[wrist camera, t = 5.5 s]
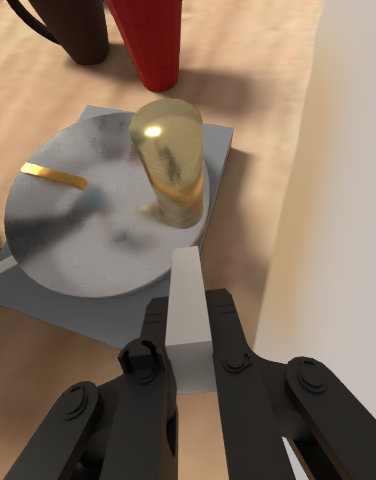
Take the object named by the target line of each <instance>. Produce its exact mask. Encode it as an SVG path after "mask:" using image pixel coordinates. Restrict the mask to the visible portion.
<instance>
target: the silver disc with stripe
mask: <svg viewBox="0 0 376 480" xmlns="http://www.w3.org/2000/svg"><path fill="white" fill-rule="evenodd" d="M208 209H209V177H208V171H207V167H206V164H205V161H204V159H203V128H202V117H201V114H200V113H199V111H198V110H197V108H196V107H194V106H193V105H192V104H190V103H188V102H186V101H184V100H180V99H174V98H167V99H160V100H156V101H153V102H151V103H149V104H147V105H145V106H144V107H142V108H141V109H140V110H139V111H138V112H137V113H113V114H106V115H101V116H97V117H93V118H89V119H86V120H84V121H81V122H78V123H76V124H74V125H72V126H70V127H68V128H66V129H64V130H62V131H61V132H59V133H57V134H56V135H55V136H53V137H52V138H50V139H49V140H48V141H46V142H45V143H44V144H43V145H42V146H41V147H39V148H38V149H37V150H36V151H35V153H34V154H33V155H32V156H31V157H30V158H29V159H28V160H27V162H26V163H25V164H24V166H23V167H22V169H21V170H20V172H19V173H18V175H17V177H16V179H15V181H14V183H13V185H12V187H11V190H10V193H9V195H8V199H7V203H6V208H5V219H4V224H5V234H6V239H7V243H8V246H9V248H10V251H11V253H12V255H13V257H14V259H15V260H16V262H17V263H18V265H19V266H20V267H21V268H22V270H23V271H24V272H25V273H26V274H27V275H28V276H29V277H31V278H32V279H33V280H35V281H36V282H37V283H39V284H41V285H43V286H45V287H46V288H48V289H50V290H53V291H56V292H59V293H62V294H67V295H73V296H79V297H87V298H103V299H108V298H117V297H123V296H127V295H131V294H135V293H138V292H140V291H143V290H145V289H147V288H150V287H151V286H153V285H155V284H157V283H159V282H160V281H162V280H163V279H165V278H166V277H168V276H169V275H170V274H171V269H172V257H173V249H177V248H185V247H192V246H196V245H197V243H198V241H199V239H200V237H201V235H202V233H203V230H204V228H205V224H206V221H207V216H208Z"/></svg>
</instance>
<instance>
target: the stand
mask: <svg viewBox="0 0 376 480" xmlns="http://www.w3.org/2000/svg"><path fill="white" fill-rule="evenodd" d="M113 113H134V112H128V111H121V110H115V109H109V108H102V107H96V106H89V105H87V107H86V108H85V110H84V112H83V113H82V115H81V117H80V118H79V120H78V122H81V121H84V120H86V119H89V118H93V117H97V116H101V115H106V114H113ZM78 122H77V123H78ZM202 128H203V159H204V161H205V164H206V167H207V171H208V177H209V209H208V216H207V221H206V224H205V228H204V230H203V233H202V235H201V237H200V239H199V241H198V243H197V245H196V246H198V251H199V257H200V254H201V250H202V246H203V243H204V239H205V236H206V232H207V229H208V225H209V222H210V218H211V215H212V211H213V208H214V204H215V201H216V197H217V194H218V190H219V187H220V183H221V180H222V176H223V173H224V169H225V166H226V162H227V159H228V155H229V152H230V148H231V143H232V136H233V130H234V128H230V127H224V126H217V125H211V124H204V123H202ZM170 281H171V274H170V275H169V276H168V277H166V278H165V279H163V280H162V281H160V282H159V283H157V284H155V285H153V286H151V287H150V288H147V289H145V290H143V291H140V292H138V293H135V294H131V295H127V296H123V297H117V298H108V299H103V298H87V297H79V296H73V295H67V294H62V293H59V292H56V291H53V290H50V289H48V288H46V287H45V286H43V285H41V284H39V283H37V282H36V281H35V280H33V279H32V278H31V277H29V276H28V275H27V274H26V273H25V272H24V271H23V270H22V268H21V267H20V266H19V265H18V263H17V262H16V260H15V259H14V257H13V255H12V253H11V251H10V248H9V246H8V243H7V241H6V243H5V245H4V246H3V248H2V250H1V251H0V305H1V306H4V307H7V308H9V309H12V310H15V311H18V312H20V313H23V314H26V315H29V316H31V317H34V318H37V319H40V320H42V321H45V322H48V323H50V324H53V325H56V326H59V327H61V328H64V329H67V330H70V331H72V332H75V333H78V334H81V335H83V336H86V337H89V338H91V339H94V340H97V341H100V342H102V343H105V344H108V345H111V346H113V347H116V348H119V349H123V348H124V347H125V346H126V345H127V344H128V343H129V342H131V341H133V340H134V339H137V338H140V334H141V330H142V325H143V320H144V317H145V311H146V307H147V305H148V304H149V302H150V301H151V299H152V298H157V297H165V296H169V293H170Z"/></svg>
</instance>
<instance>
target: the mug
mask: <svg viewBox="0 0 376 480" xmlns="http://www.w3.org/2000/svg"><path fill="white" fill-rule="evenodd" d="M28 1H29V2H30V4H31V5H32V7H33V8H34V9H35V11H36V12H37V14H38V15H39V16H40V18H41V19H42V20H43V22H44V23H45V25H46V26H47V27H46V26H45V25H44V24H42V23H41V22H40V21H38V20H37V19H36V18H35V17H33V16H32V15H31V14H30V13H29V12H28V11H27V10H26V9H25V8H24V6H23V5H22V4H21V3H20V2H19V0H7V2H8V3H9V5H10V6H11V8H12V9H13V10H14V11H15V13H16V14H17V15H18V16H19V17H20V18H21V19H22V20H23V21H24V22H25V23H26V24H27V25H28V26H29V27H31V28H32V29H33V30H35V31H36V32H37V33H39V34H40V35H42V36H43V37H45V38H47V39H48V40H50V41H52V42H54V43H56V44H59V45H61V46H62V47H63V48H64V49H65V51H66V52H67V53H68V54H69V55H70V56H71V57H72V58H73V60H74V61H75V62H76V63H78V64H84V65H91V64H97V63H101V62H103V61H104V60H105V58H106V57H107V55H108V52H109V41H108V33H107V26H106V20H105V14H104V9H103V3H102V0H28Z"/></svg>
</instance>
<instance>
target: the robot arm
mask: <svg viewBox="0 0 376 480" xmlns="http://www.w3.org/2000/svg"><path fill="white" fill-rule="evenodd" d="M118 360H119V362H120V364H121V367H122V369H123V371H124V373H123V374H122V375H121V376H119V377H117V378H116V379H114V380H111V381H109V382H107V383H105V384H102V385H100V386H98V387H96V385H95V384H94V383H92V382H90V381H85V382H80V383H77V384H75V385H73V386H71V387H70V388H69V389H67V390H66V391H65V392H64V393H63V394H62V395H61V396H60V397H59V399H58V400H57V401H56V402H55V404H54V405H53V407H52V408H51V410H50V411H49V413H48V414H47V416H46V417H45V419H44V420H43V422H42V423H41V425H40V426H39V428H38V429H37V430H36V432H35V433H34V435H33V436H32V438H31V439H30V441H29V442H28V444H27V445H26V447H25V448H24V450H23V451H22V453H21V454H20V456H19V457H18V459H17V460H16V461H15V463H14V464H13V466H12V467H11V469H10V470H9V472H8V473H7V475H6V476H5V478H4V479H3V480H178V408H177V404H176V392H178V395H181V394H190V393H200V392H209V391H217V395H218V402H219V410H220V418H221V424H222V432H223V439H224V446H225V454H226V461H227V468H228V476H229V480H296V478H295V475H294V472H293V469H292V467H291V463H290V460H289V457H288V454H287V451H286V448H285V445H284V442H283V439H282V437H285V438H287V441H288V442H289V444H290V446H291V448H292V450H293V451H294V453H295V455H296V457H297V459H298V461H299V462H300V464H301V466H302V468H303V470H304V471H305V473H306V475H307V477H308V479H309V480H376V419H375V418H374V417H373V416H372V415H371V414H370V413H369V411H368V410H367V409H366V408H365V407H364V406H363V405H362V404H361V403H360V402H359V401H358V400H357V398H355V396H354V395H353V394H352V393H351V392H350V391H349V390H348V389H347V388H346V386H344V384H343V383H342V382H341V381H340V380H339V379H338V378H337V377H336V376H335V375H334V373H333V372H332V371H331V370H329V369H328V368H327V367H326V366H325V365H324V364H323V363H321V362H319V361H317V360H315V359H313V358H308V357H295V358H293V359H292V360H290V361H289V362H288V364H282V363H278V362H273V361H269V360H266V359H263V358H261V357H259V356H258V355H256V354H255V353H254V352H253V351H252V350H251V349H250V347H249V346H248V344H247V342H246V339H245V336H244V332H243V329H242V326H241V323H240V320H239V317H238V314H237V311H236V308H235V305H234V301H233V298H232V295H231V294H230V293H229V292H228V291H227V290H226V289H225V288H224V289H216V290H208V291H204V285H203V278H202V271H201V264H200V258H199V251H198V246H192V247H185V248H177V249H173V257H172V269H171V281H170V293H169V296H165V297H157V298H152V299H151V301H150V302H149V304H148V305H147V307H146V311H145V317H144V320H143V325H142V330H141V334H140V338H137V339H134V340H133V341H131V342H129V343H128V344H127V345H126V346H125V347H124V348H123V349H122V350H121V352H120V354H119V356H118Z"/></svg>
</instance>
